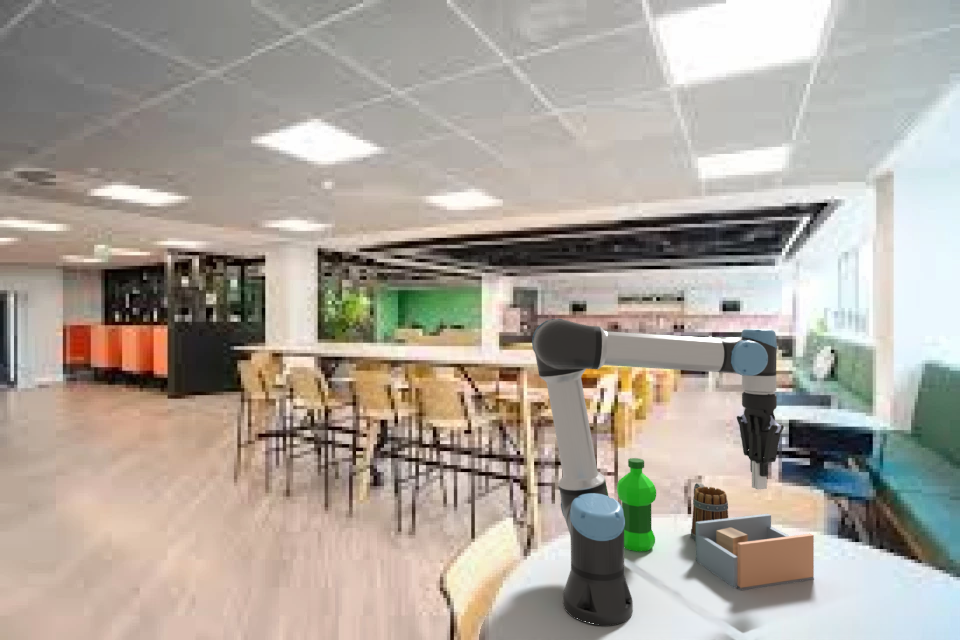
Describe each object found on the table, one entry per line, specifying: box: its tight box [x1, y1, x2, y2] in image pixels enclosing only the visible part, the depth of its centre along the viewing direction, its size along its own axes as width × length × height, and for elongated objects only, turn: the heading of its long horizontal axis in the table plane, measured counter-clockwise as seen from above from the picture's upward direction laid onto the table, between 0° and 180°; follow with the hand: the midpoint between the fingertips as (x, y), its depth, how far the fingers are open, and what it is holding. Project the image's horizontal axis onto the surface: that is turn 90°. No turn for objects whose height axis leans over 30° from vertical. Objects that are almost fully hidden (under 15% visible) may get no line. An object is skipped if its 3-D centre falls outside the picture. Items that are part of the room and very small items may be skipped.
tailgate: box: [736, 533, 815, 591], centre depth 125 cm, size 20×1×11 cm, turn 104°
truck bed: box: [695, 513, 790, 589], centre depth 132 cm, size 22×14×12 cm, turn 104°
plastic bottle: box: [616, 457, 657, 553], centre depth 146 cm, size 10×10×25 cm
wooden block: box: [716, 527, 748, 557], centre depth 132 cm, size 5×5×9 cm
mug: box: [690, 482, 729, 543], centre depth 152 cm, size 16×11×15 cm
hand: (759, 487), depth 130 cm, fingers closed
